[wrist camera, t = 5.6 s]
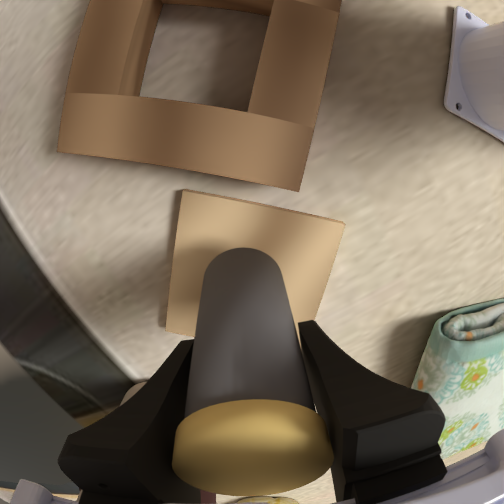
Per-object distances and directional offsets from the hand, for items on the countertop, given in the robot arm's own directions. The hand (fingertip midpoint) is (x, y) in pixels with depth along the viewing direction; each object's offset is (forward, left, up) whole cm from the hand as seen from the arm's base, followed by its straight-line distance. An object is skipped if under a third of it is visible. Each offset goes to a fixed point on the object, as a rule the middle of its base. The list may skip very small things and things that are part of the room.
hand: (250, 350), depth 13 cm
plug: (0, -1, -4) cm, 4 cm away
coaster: (0, 0, -7) cm, 7 cm away
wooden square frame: (+5, -12, -7) cm, 15 cm away
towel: (-25, +6, -8) cm, 27 cm away
